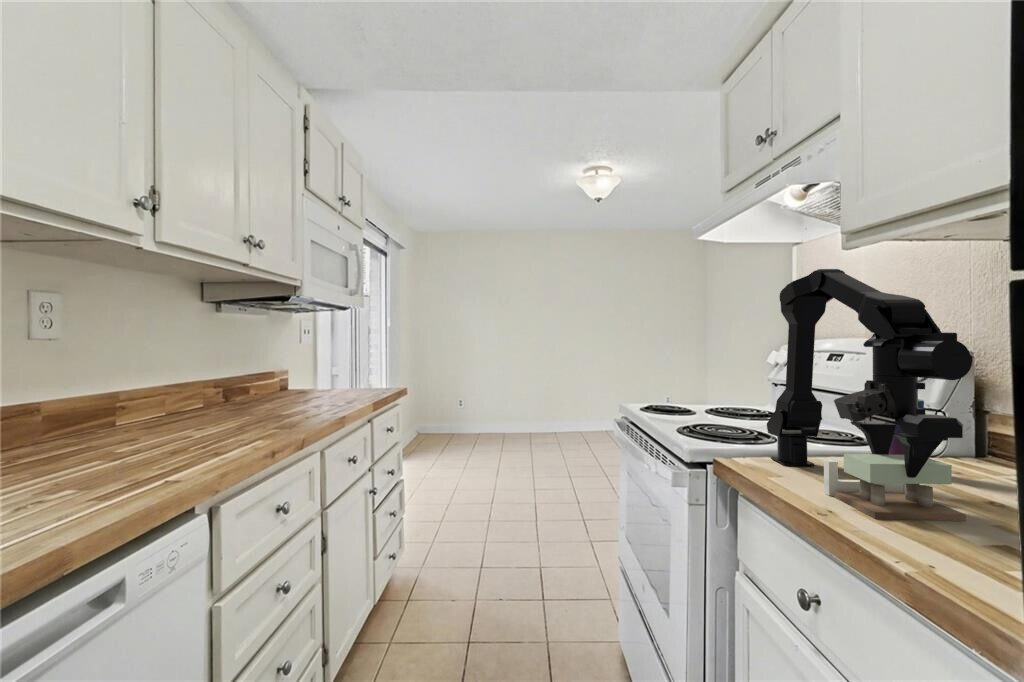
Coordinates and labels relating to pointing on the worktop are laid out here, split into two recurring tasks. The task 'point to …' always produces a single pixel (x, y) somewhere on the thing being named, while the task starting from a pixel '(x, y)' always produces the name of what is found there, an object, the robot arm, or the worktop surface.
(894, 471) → the board
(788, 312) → the robot arm
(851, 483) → the u-shaped frame
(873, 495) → the peg stand
